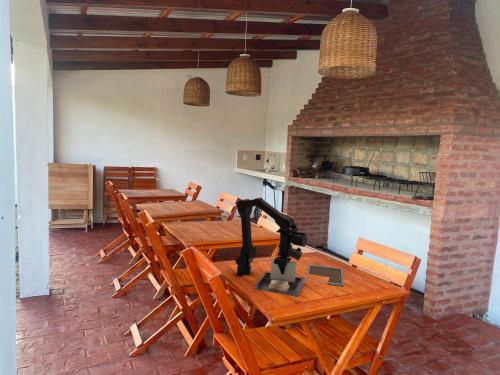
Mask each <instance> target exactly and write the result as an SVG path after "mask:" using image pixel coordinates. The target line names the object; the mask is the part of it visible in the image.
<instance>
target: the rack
mask: <svg viewBox="0 0 500 375" xmlns="http://www.w3.org/2000/svg"><path fill="white" fill-rule="evenodd" d="M270 275H271V272H269V271H268V270H265V271H264V272H263V274H262V275H261V276H260V277H259V279H258V280H257V281H256V282H255V286H254V290H255V291H256V290H257V291H262V292H268V293H274V294H279V295H285V296H288V297H289V296H291V297H295V298H298V297H299V295H300V293H301V291H302V289H303V287H304V285H305V280H306V276H302V277H300V276H295V282H289V281H287V282H288V285H290V287H289V290H288V291H287V292H286V291H281V290H275V289H269V285H270V283H271V280H277V279H271V278H270ZM279 281H283V280H279Z"/></svg>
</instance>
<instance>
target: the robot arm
mask: <svg viewBox="0 0 500 375" xmlns="http://www.w3.org/2000/svg"><path fill="white" fill-rule="evenodd" d="M254 207H257V208H258V209H260V210H261V211H262V212H263V213H265V214H266V215H267V216H269V217H270V218H271V219H273V221H274V222H275V223H276V225H277V226H278V229H277V230H275V233H277V234H279V244H278V246H277V247H278V253H277V256H276V257H274V258H273V259H274V264H278V267H279V269H280V272H281V274H282V275H284V271H285V267H286V265H287V264H288V263H289V262H288V261H291V260H292V258H293V259H295V260H296V261H300V259H302V258H301V257H302V255H303V251H302V248H301V247H304V248H305V247H306V246H307V244H308V236H307V233H306V232H305V231H299V229H298V227H297V225H296V223H295V219H294V218H293V217H292V216H290V215H288V214H285V213H282V212H280V211H279V210H278V209H277V208H275V207H273V206H272V205H271V204H270V203H268V202H267V201H266V200H265V199H264V198H262V197H256V198H254V199H250V198H245V199H240V200H238V201H237V202H236V210H237V213H238V215H239V216H240V225H241V240H242V243H241V244H242V245H241V248H240V251H239V256H238V257H237V258H236V259H235V264H236V265H237V267H236V268H237V270H236V273H235V276H237V277H238V276H240V277H244V276H246V275H249V276H250V275H251V274H252V265H251V264H252V262H253V261H254V260H255V259H256V258H257V255H258V254H257V246H254V245H253V241H252V238H253V237H252V224H251V223H252V222H251V221H252V220H251V217H252V213H253V208H254ZM293 245H294V246H297V248H293Z"/></svg>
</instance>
